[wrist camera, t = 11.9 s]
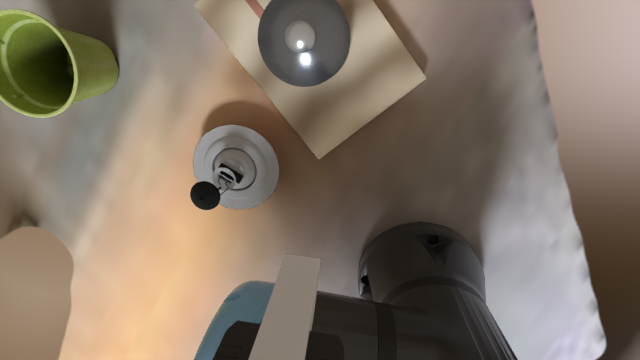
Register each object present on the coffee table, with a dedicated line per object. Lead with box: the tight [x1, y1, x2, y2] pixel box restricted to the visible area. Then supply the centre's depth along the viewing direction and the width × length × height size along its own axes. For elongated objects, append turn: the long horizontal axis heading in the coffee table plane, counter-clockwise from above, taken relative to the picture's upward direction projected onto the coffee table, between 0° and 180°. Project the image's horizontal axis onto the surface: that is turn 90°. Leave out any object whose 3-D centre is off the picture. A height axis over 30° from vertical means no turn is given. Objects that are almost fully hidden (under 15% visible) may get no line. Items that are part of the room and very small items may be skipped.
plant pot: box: [0, 9, 119, 118], centre depth 35 cm, size 9×9×9 cm
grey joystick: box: [190, 124, 279, 210], centre depth 36 cm, size 12×10×10 cm
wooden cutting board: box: [194, 0, 427, 160], centre depth 35 cm, size 20×14×2 cm
